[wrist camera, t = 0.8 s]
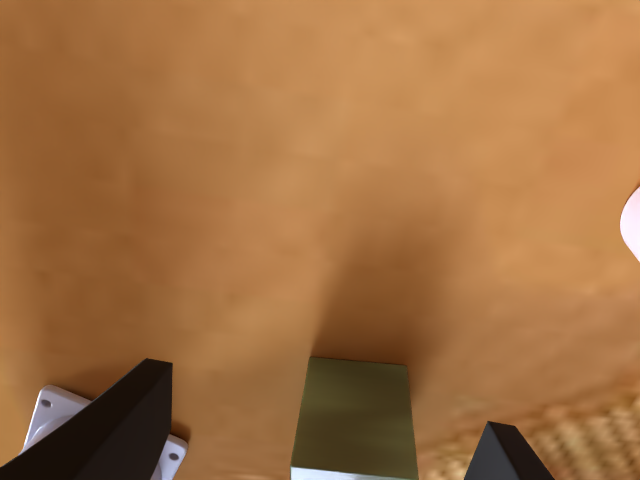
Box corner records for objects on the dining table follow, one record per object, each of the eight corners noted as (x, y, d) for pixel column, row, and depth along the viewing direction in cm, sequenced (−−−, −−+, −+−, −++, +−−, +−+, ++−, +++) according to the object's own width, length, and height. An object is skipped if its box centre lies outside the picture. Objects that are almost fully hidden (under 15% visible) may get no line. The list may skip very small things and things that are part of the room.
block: (407, 365, 22) (418, 479, 16) (396, 436, 24) (404, 560, 18) (309, 356, 22) (289, 465, 17) (307, 427, 24) (289, 546, 19)
